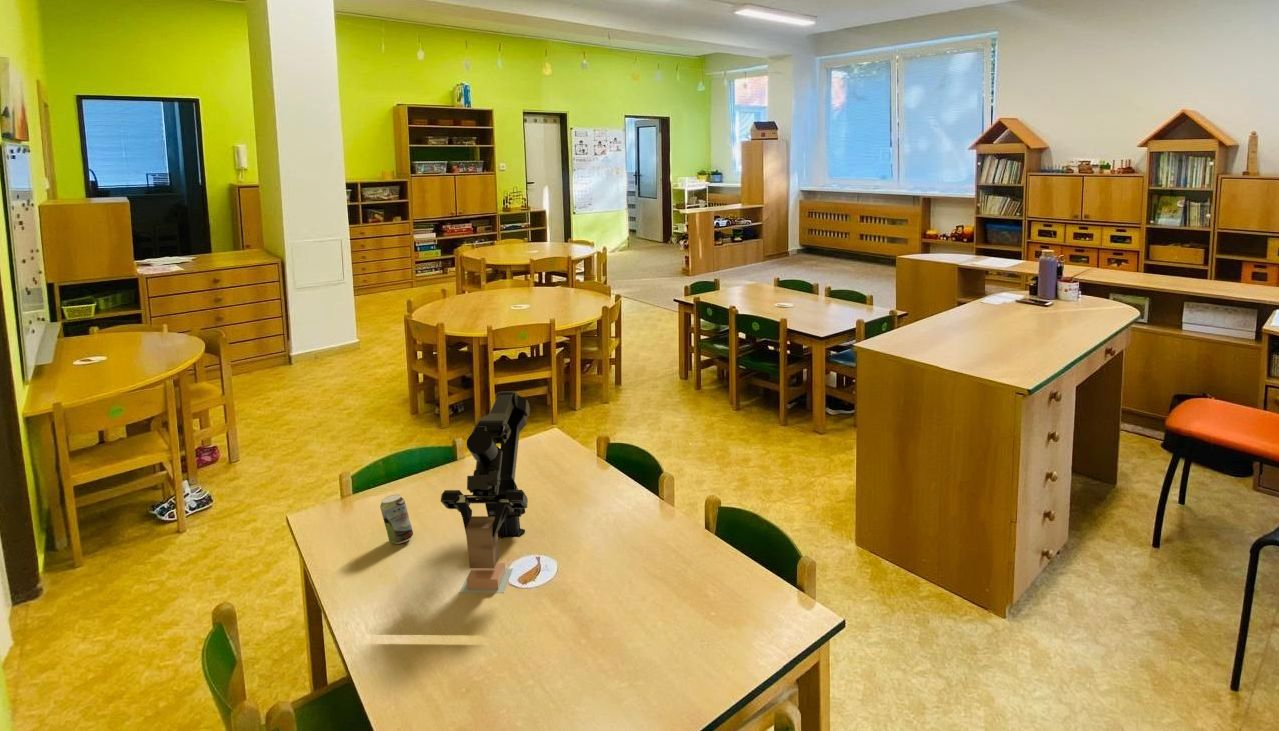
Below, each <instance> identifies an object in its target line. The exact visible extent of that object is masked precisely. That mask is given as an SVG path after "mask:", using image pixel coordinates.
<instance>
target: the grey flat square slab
mask: <svg viewBox="0 0 1279 731" xmlns="http://www.w3.org/2000/svg"><path fill="white" fill-rule="evenodd" d="M469 569H470V570H469V572H468V573H467V576H466V578H465V580H464V582H463V583H462V586H461V588H460V590H459V594H504V593H505V591H506V588H507V586H508V582H509V580H510V577H511V575H512V573H513V570H514V568H505V575H504V577H503V580H502V582H501V584H500V587H499V589H468V588H467V577H468V575H469V573H470V571H471V569H472V568H469Z"/></svg>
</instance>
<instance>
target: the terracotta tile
mask: <svg viewBox="0 0 1279 731" xmlns="http://www.w3.org/2000/svg"><path fill="white" fill-rule="evenodd" d="M505 564H506V563H505V562H497V563H496V566H495V568H470V569H471V571H470V570H469V571H470V573H469V572H468V574H469V575H468V574H467V576H468V577H467V576H466V578H467V588H468V589H499V587H500V584H501V582H502V580H503V577H504V575H505V569H506V565H505Z"/></svg>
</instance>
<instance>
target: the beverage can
mask: <svg viewBox="0 0 1279 731" xmlns="http://www.w3.org/2000/svg"><path fill="white" fill-rule="evenodd" d="M380 502H381V503H380V506H379V508H380V511H381V515H382V518H383V519H382V520H383V523H384V527H385V530H386V533H387V537H388V541H389V542H390V543H392V544H394V545H395V544H396V545H398V544H402V543H405V542H408V541H409V540H410V539H411V538H412V537H413V536H414V530H413V528H412V523H411V520H410V516H409V512H408V509H407V504H406V501H405V499H404V498H403V497H402V495H401V494H391V495H389V496H388V495H387V496H386V497H383V498H382V499H381V500H380Z"/></svg>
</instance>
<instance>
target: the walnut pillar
mask: <svg viewBox="0 0 1279 731" xmlns="http://www.w3.org/2000/svg"><path fill="white" fill-rule="evenodd" d="M494 520H495V516H488V515H485V516H483V515H481V516H479V515H478V516H477V515H476V516H473V515H472V517H471V519H470V521H469V523H468V525H467V527H466V532H465V536H466V544H467V545H466V546H467V554H468V564H469V569H472V568H495V566H496V563H498V561H499V558H500V557H501V556H500V555H501V554H500V544H499V543H500V542H499V537H498V533H497V534H496V536H495V537H493V525H494Z"/></svg>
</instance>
